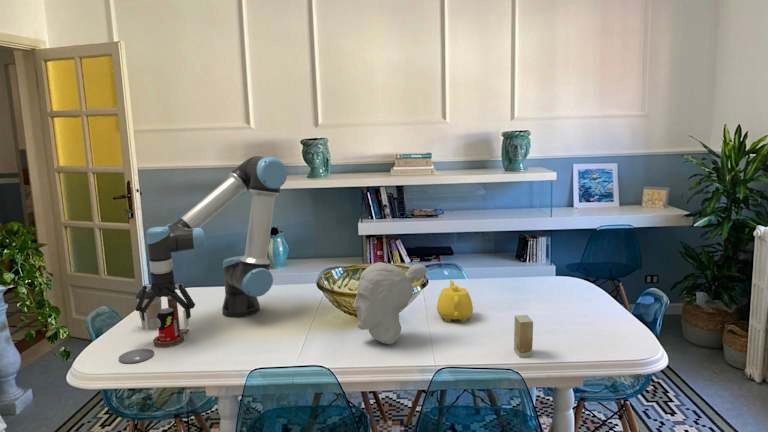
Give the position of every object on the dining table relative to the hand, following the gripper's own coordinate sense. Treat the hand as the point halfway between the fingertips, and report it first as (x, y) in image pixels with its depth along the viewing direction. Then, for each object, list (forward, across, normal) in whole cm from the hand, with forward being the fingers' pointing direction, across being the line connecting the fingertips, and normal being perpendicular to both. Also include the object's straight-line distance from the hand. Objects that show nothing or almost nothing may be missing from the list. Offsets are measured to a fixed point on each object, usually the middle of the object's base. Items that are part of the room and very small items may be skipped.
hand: (167, 328), depth 201 cm
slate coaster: (+5, +7, +12) cm, 15 cm away
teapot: (+6, -106, -12) cm, 107 cm away
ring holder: (+5, 0, -3) cm, 6 cm away
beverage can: (+5, 0, 0) cm, 5 cm away
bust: (+5, -80, +8) cm, 81 cm away
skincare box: (+5, -122, +25) cm, 125 cm away
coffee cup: (+5, +12, -17) cm, 21 cm away
